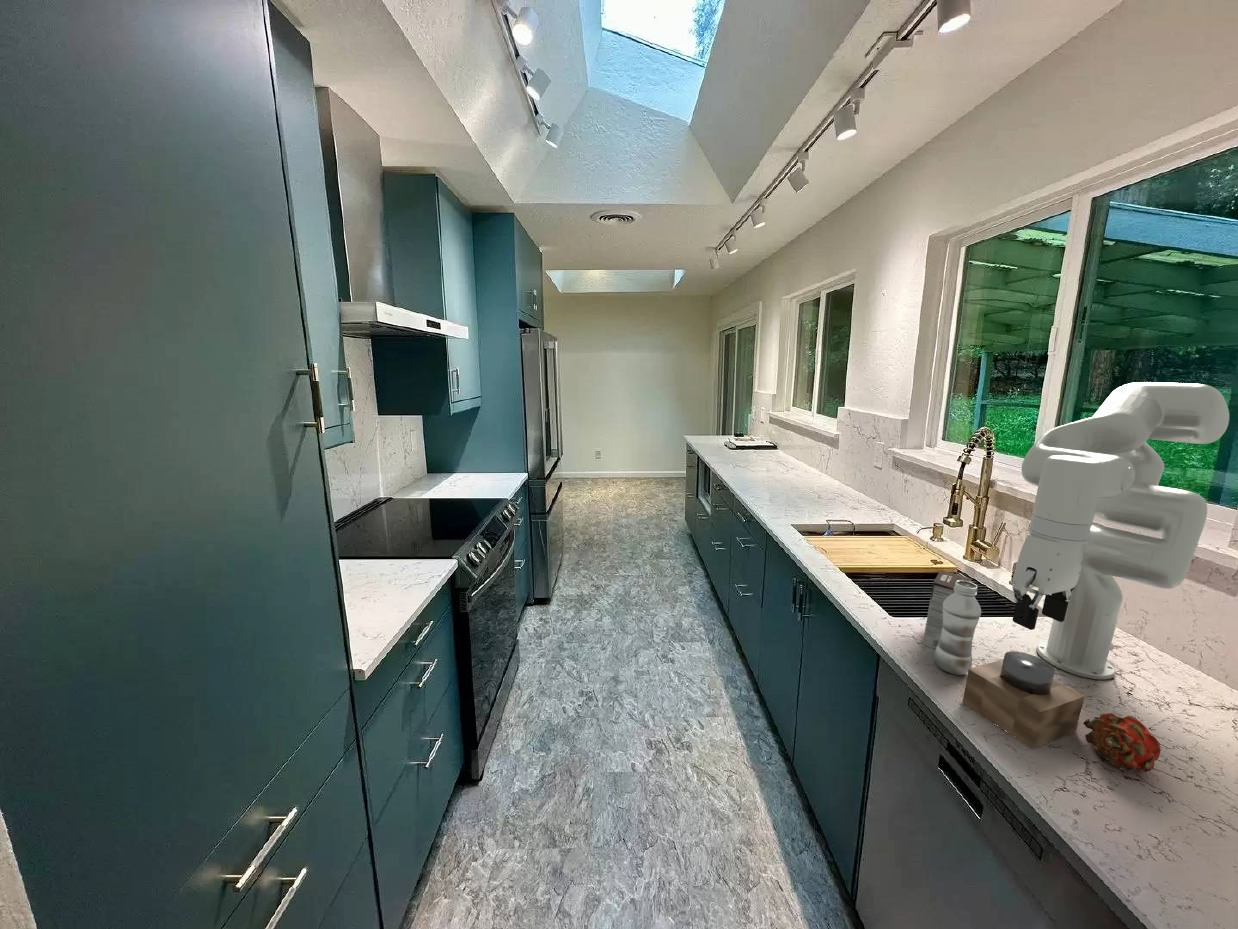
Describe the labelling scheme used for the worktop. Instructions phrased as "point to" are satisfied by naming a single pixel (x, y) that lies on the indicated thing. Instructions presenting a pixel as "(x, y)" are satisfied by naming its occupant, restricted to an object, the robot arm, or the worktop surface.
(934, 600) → the coffee box
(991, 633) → the worktop surface
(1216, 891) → the worktop surface
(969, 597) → the plastic bottle
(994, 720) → the hitch block
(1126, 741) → the dragon fruit
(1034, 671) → the grey metal cylinder
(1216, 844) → the worktop surface
